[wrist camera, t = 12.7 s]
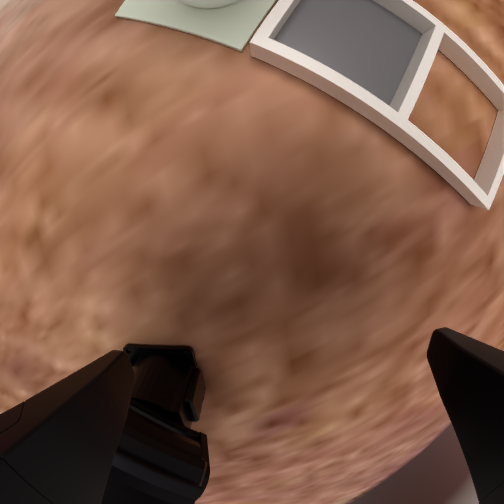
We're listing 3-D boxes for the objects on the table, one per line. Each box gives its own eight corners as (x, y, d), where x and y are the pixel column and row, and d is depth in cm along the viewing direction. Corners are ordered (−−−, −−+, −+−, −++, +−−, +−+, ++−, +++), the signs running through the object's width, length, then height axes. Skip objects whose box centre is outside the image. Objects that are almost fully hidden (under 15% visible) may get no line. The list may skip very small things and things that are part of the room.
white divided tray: (504, 110, 15) (521, 109, 13) (470, 204, 18) (488, 210, 16) (186, -65, 11) (180, -81, 9) (116, 17, 14) (102, 5, 12)
